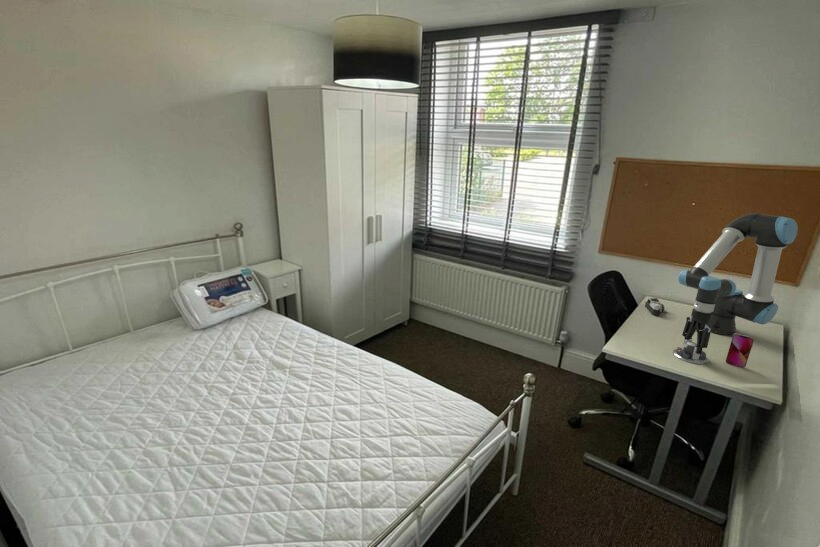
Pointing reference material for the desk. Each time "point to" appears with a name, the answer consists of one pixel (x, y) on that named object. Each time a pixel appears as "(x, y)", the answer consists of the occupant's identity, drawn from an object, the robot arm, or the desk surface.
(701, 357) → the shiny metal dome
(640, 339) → the desk surface
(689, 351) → the dark grey short cylinder
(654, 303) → the camera
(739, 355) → the smartphone
